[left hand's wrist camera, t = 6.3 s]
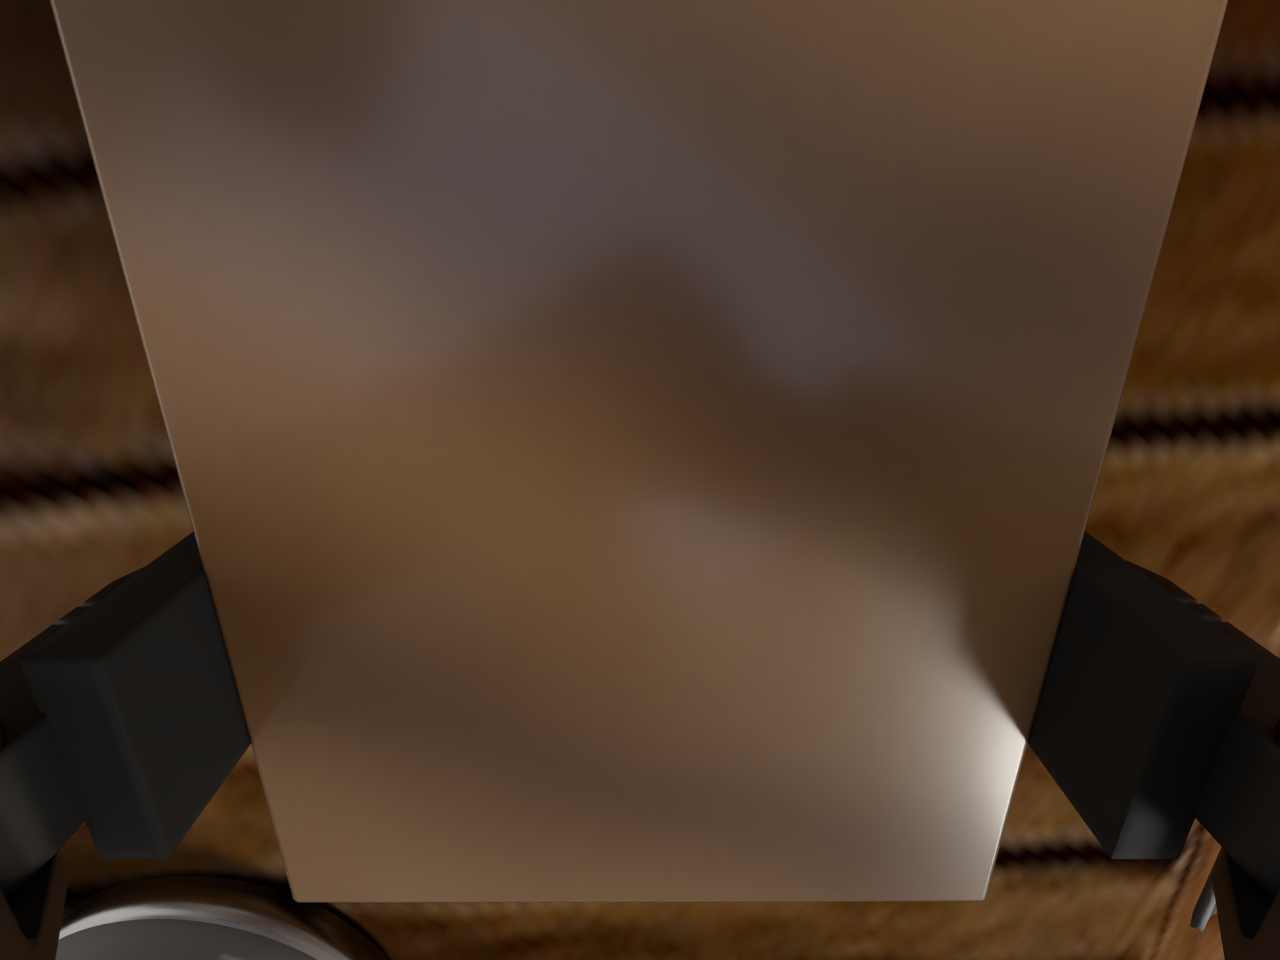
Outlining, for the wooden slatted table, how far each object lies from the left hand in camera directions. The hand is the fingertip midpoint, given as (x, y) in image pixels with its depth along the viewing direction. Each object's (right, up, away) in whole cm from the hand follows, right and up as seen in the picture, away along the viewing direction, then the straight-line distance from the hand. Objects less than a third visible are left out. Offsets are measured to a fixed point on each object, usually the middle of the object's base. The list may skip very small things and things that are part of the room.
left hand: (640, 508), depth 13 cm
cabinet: (0, +8, +4) cm, 9 cm away
